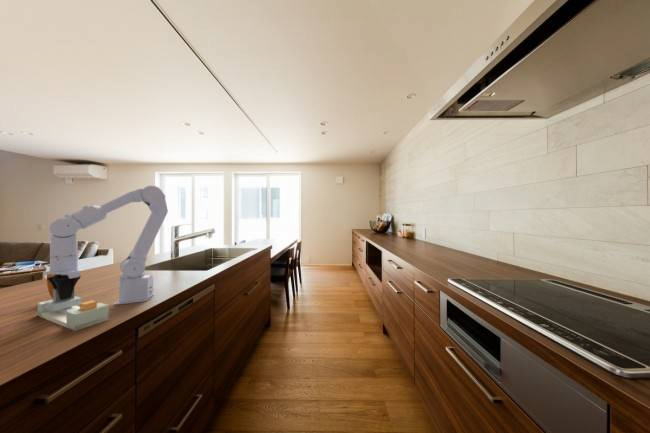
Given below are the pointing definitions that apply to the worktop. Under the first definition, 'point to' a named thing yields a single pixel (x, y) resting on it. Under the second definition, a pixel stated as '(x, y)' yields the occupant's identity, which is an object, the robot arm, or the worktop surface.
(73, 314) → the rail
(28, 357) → the worktop surface
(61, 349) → the worktop surface
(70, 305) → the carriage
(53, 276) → the carrot
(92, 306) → the orange small block
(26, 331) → the worktop surface
